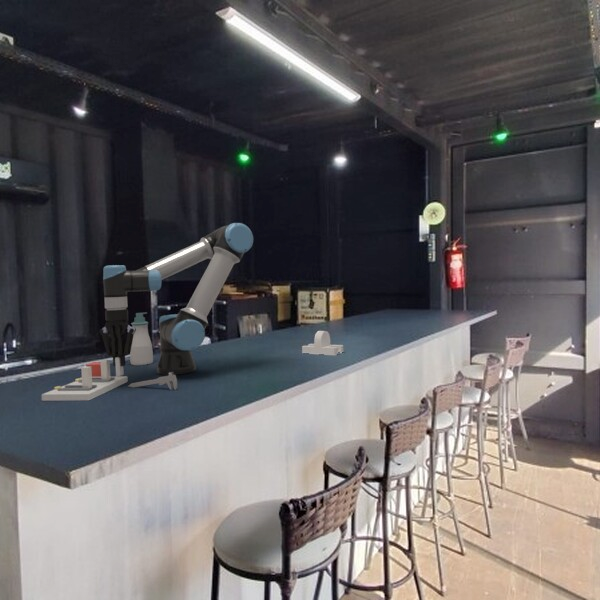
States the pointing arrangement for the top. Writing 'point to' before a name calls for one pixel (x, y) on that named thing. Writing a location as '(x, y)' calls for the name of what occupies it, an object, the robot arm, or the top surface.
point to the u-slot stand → (322, 345)
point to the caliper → (159, 381)
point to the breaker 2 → (105, 370)
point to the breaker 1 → (86, 377)
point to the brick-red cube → (95, 369)
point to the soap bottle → (141, 342)
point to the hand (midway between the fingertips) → (119, 375)
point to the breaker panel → (83, 389)
